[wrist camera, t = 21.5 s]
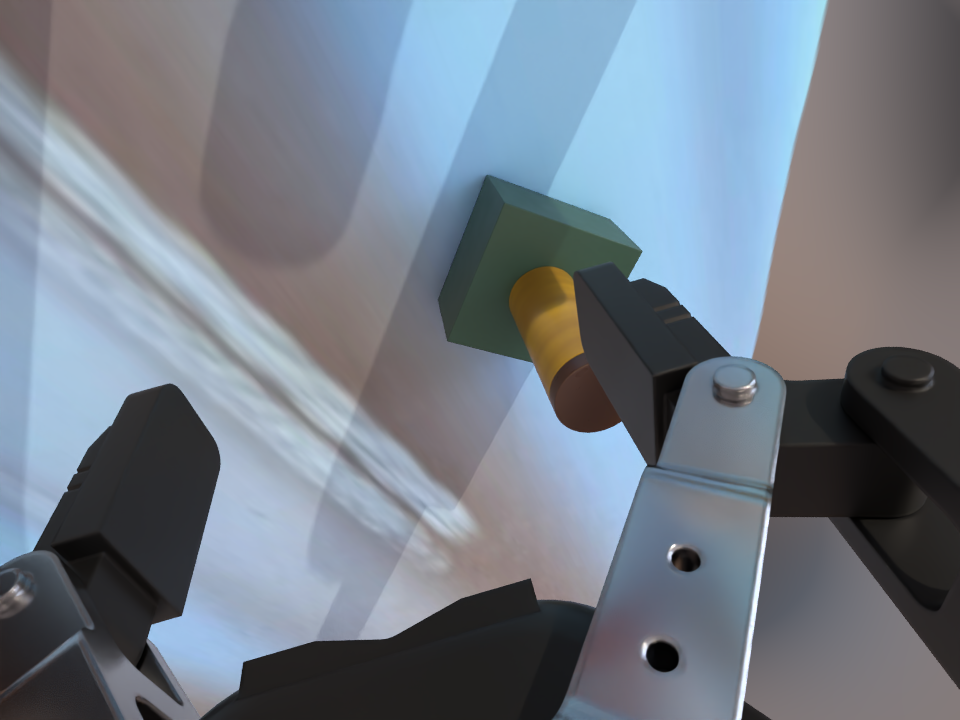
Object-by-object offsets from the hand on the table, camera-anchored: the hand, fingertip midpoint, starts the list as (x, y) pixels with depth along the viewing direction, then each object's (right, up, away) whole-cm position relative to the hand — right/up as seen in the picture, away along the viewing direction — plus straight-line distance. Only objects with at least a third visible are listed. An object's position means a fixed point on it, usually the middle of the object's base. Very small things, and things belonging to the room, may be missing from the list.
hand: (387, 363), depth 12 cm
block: (+5, +8, +31) cm, 33 cm away
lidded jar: (+6, +4, +27) cm, 28 cm away
